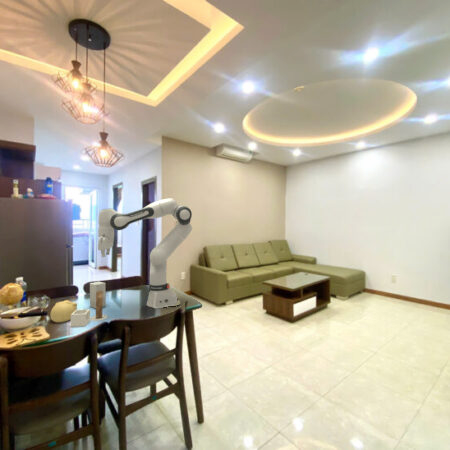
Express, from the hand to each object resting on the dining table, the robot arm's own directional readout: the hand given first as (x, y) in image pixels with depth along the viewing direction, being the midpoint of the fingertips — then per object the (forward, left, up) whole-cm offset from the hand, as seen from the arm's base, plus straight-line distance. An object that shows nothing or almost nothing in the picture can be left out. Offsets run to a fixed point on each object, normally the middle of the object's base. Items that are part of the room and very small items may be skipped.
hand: (105, 255), depth 153 cm
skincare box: (+6, -6, -34) cm, 35 cm away
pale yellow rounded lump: (+17, +15, -34) cm, 41 cm away
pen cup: (+6, +22, -34) cm, 41 cm away
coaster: (-1, +15, -34) cm, 37 cm away
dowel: (-1, +15, -34) cm, 37 cm away
